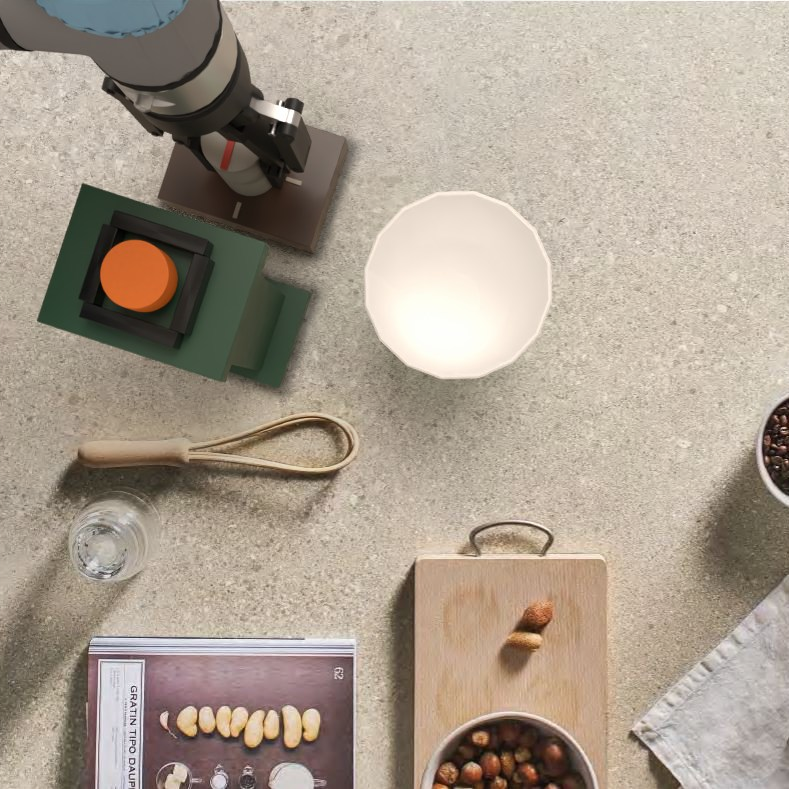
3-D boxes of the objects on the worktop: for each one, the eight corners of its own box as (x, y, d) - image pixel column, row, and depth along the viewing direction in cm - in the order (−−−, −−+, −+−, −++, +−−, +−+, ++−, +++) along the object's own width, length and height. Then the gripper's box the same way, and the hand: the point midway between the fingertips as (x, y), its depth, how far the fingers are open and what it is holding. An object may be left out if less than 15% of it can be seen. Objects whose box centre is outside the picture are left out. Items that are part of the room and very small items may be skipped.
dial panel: (166, 205, 79) (156, 197, 76) (201, 100, 79) (192, 87, 76) (313, 253, 79) (309, 247, 76) (348, 147, 79) (345, 137, 76)
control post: (154, 347, 79) (25, 318, 53) (185, 252, 79) (72, 176, 53) (280, 389, 79) (215, 381, 52) (312, 293, 79) (262, 237, 52)
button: (102, 300, 53) (90, 296, 51) (123, 237, 53) (112, 230, 51) (165, 321, 53) (156, 317, 51) (186, 257, 53) (177, 251, 51)
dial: (231, 132, 76) (209, 98, 68) (286, 147, 76) (271, 115, 68) (215, 187, 76) (191, 161, 68) (271, 203, 76) (253, 178, 68)
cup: (511, 397, 78) (536, 395, 63) (359, 371, 79) (347, 363, 63) (536, 245, 78) (568, 205, 63) (385, 220, 79) (379, 174, 63)
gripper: (11, 79, 52) (135, 180, 75) (307, 156, 51) (339, 233, 75) (44, -44, 52) (157, 95, 75) (340, 32, 51) (362, 148, 75)
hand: (248, 164), depth 75 cm, fingers closed on dial, 5 cm apart
